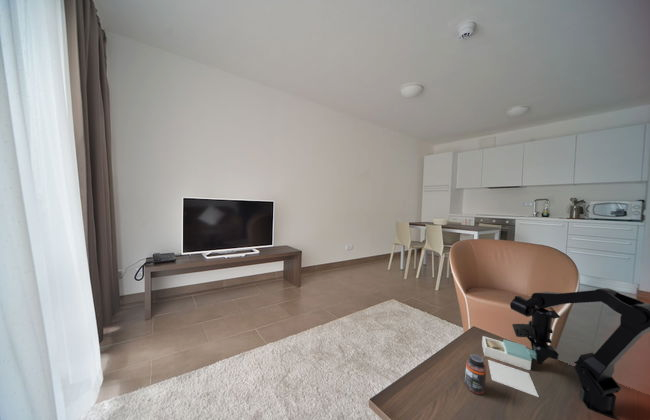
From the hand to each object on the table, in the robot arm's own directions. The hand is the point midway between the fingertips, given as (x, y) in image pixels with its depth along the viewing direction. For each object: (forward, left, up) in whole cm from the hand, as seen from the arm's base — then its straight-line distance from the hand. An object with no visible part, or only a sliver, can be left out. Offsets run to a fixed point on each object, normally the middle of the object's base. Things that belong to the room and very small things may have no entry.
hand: (536, 359), depth 91 cm
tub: (+10, 0, -3) cm, 11 cm away
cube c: (+14, 0, -3) cm, 14 cm away
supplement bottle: (+23, +26, -3) cm, 35 cm away
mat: (+10, +13, -3) cm, 17 cm away
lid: (+5, 0, +1) cm, 5 cm away
